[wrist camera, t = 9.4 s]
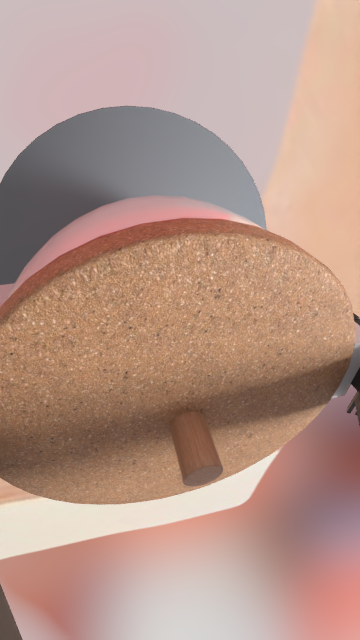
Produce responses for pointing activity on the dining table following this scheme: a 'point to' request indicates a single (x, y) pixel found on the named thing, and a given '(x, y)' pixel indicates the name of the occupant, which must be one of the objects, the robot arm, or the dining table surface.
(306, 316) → the lidded jar
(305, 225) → the dining table surface
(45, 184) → the gray round disc
